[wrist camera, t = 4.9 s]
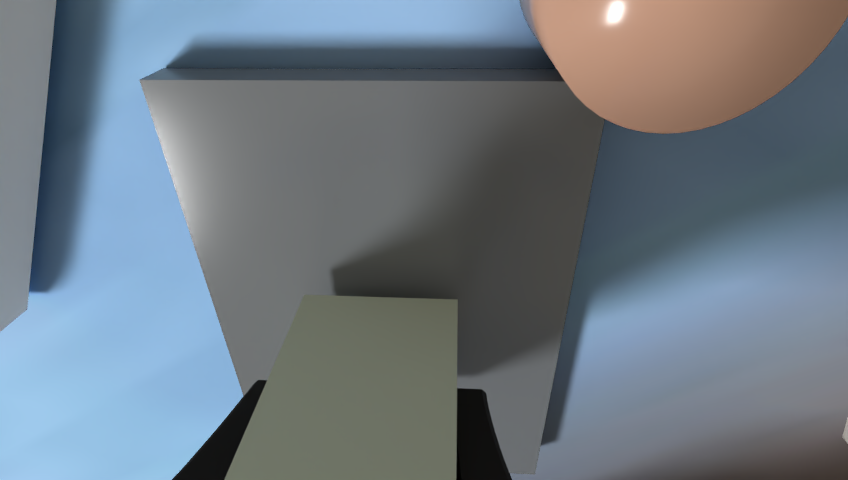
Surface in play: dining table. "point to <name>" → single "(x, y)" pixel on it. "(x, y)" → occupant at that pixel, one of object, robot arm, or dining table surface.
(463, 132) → the slate board
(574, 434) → the dining table surface
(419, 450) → the sage block
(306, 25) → the dining table surface
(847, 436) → the off-white cube
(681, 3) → the tan sphere
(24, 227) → the crystal
